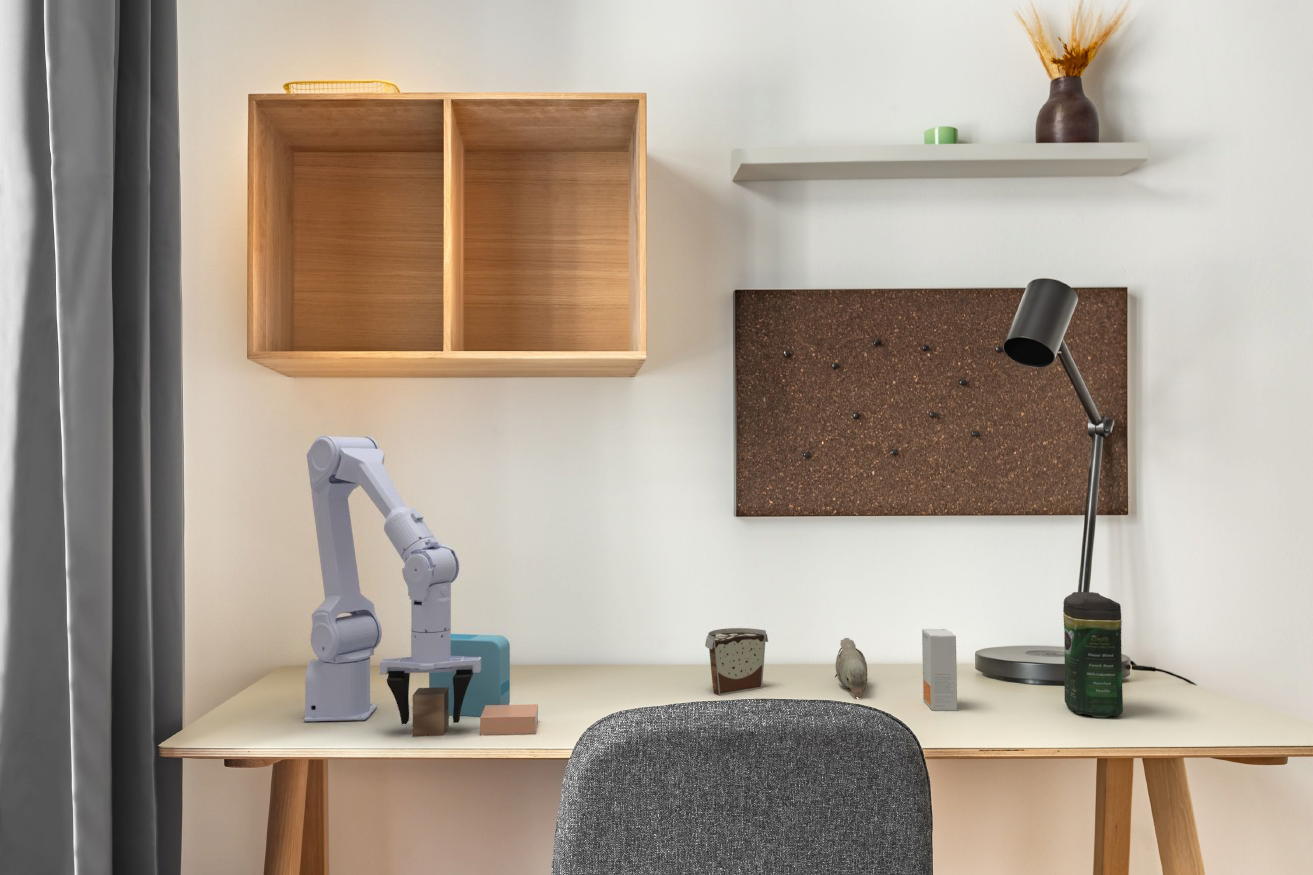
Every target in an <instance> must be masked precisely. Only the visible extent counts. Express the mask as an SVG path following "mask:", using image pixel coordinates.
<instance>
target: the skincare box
mask: <svg viewBox="0 0 1313 875" xmlns="http://www.w3.org/2000/svg"><path fill="white" fill-rule="evenodd" d="M921 635H922V636H921V638H922V639H921V641H922V643H921V645H922V654H921V655H922V697H923V698H922V699H923V702H925V704H926V705H927V706H928V708H930V710H931V711H945V712H946V711H947V712H948V711H949V712H950V711H951V712H952V711H953V712H954V711H955V712H956V711H958V682H957V680H958V678H957V677H958V676H957V675H958V674H957V673H958V671H957V670H958V669H957V667H958V666H957V636H956V635H955V634H954V633H953V632H952V631H950V630H948V629H946V628H922V629H921Z"/></svg>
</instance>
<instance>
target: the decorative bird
mask: <svg viewBox="0 0 1313 875" xmlns="http://www.w3.org/2000/svg"><path fill="white" fill-rule="evenodd" d="M839 645H840V648H839V650H838V653H837V654H836V659H835V676H834V678H836V677H837V679H838V681H839V682H840V683H841V685H843V686H844V687H847V688H848V689H850V692H851V693H852V694H853V697H855V698H856V697H858V698H860V699H861V697H862V696H863V694H864V692H865V687H866V684H867V682H868V665H867V661H866V658H865V656H864V653H863V652H862V651H861V650H860V649H858V648H857V646H856V643H855V642H854V640H852V639H850V638H849V637H844V638H843V639H841V640H840V644H839Z"/></svg>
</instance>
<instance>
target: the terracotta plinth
mask: <svg viewBox="0 0 1313 875" xmlns="http://www.w3.org/2000/svg"><path fill="white" fill-rule="evenodd" d="M538 722H539V704H537V703H536V704H533V703H532V704H531V703H530V704H529V703H527V704H509V705H486V706H485V708H484V710H483V712H482V715H481V717H479V735H480V736H498V735H499V736H500V735H533V734H534V735H535V734H536V731H537V727H538Z"/></svg>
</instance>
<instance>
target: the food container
mask: <svg viewBox="0 0 1313 875" xmlns="http://www.w3.org/2000/svg"><path fill="white" fill-rule="evenodd" d="M768 638H769V637H768V633H767V631H766V630H765V629H759V628H751V627H750V628H748V627H747V628H746V627H730V628H729V627H728V628H719V629H714V630H711V631H709V632H708V634H707V636H706V639H705V644H704V647H706V648H707V649H708V650H709V652H708V653H709V660H710V663H709V664H710V670H711V671H710V672H711V683H712V692H713V694H715V695H716V694H717V695H716V696H725V695H731V694H736V693H743V692H746V691H747V692H748V691H752V690H753V691H754V690H760V689H763V683H764V682H763V681H764V680H763V679H764V667H765V666H764V665H765V654H766V653H765V652H766V643H769V639H768Z"/></svg>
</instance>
